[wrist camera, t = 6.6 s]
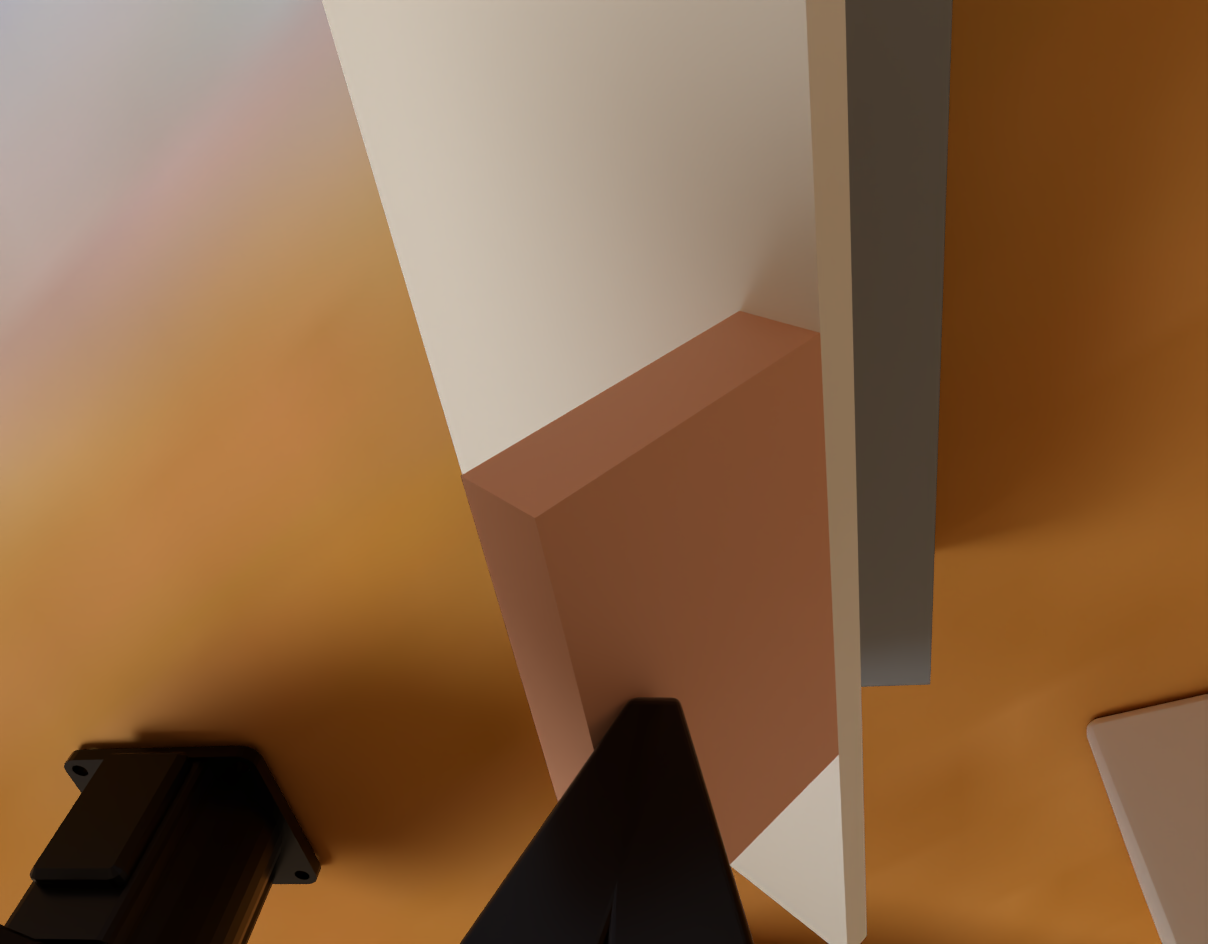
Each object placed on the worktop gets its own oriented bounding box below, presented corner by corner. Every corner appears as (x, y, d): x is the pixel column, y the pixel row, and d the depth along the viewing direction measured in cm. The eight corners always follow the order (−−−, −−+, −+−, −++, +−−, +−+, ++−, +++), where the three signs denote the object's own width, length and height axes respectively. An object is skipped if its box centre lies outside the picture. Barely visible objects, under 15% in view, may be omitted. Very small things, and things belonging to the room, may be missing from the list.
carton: (901, 557, 23) (929, 684, 19) (569, 575, 24) (544, 697, 21) (908, -299, 14) (963, -330, 11) (386, -190, 15) (295, -187, 12)
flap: (866, 935, 15) (693, 1142, 13) (549, 694, 21) (393, 815, 19) (838, -322, 7) (335, -265, 5) (308, -171, 12) (-28, -115, 10)
